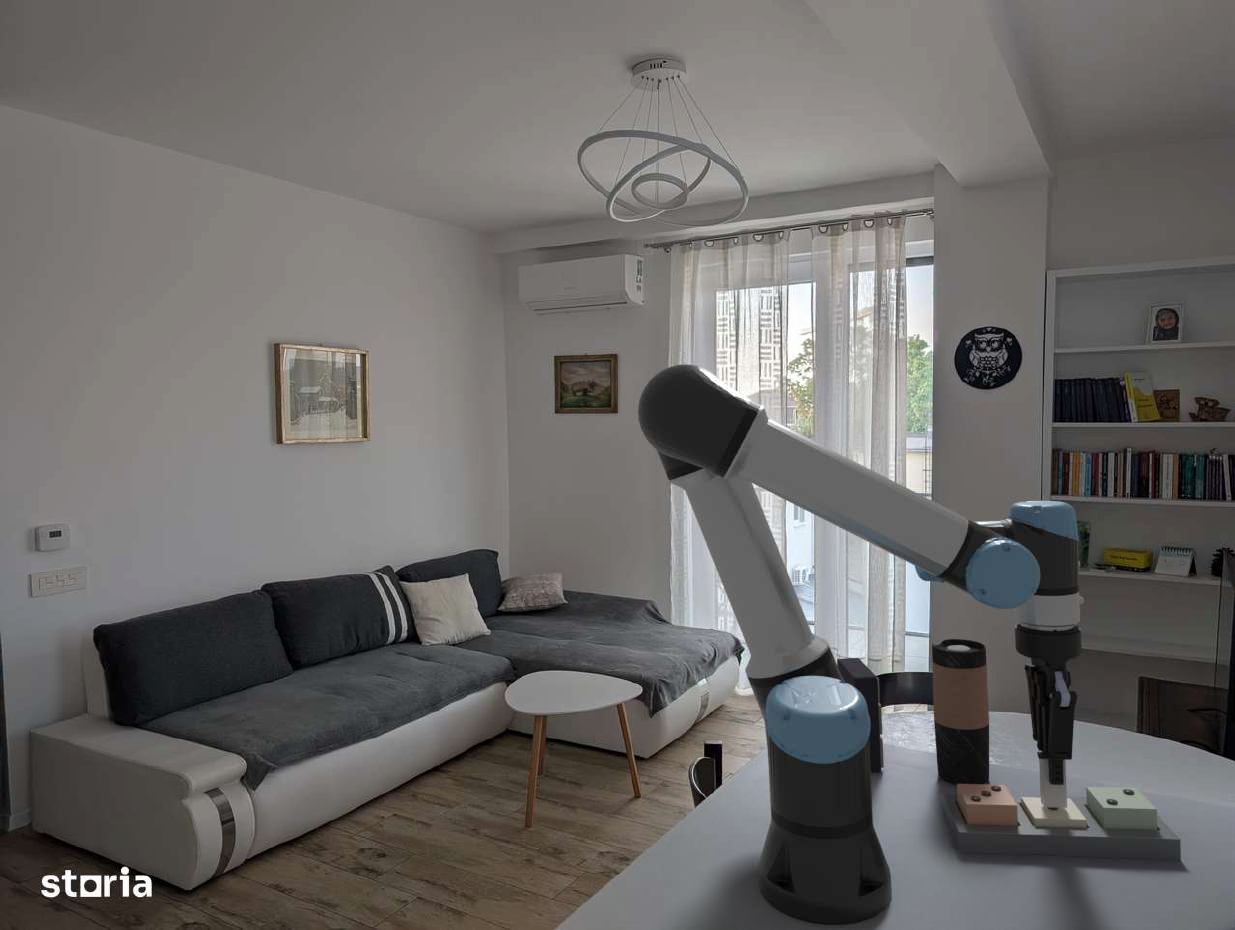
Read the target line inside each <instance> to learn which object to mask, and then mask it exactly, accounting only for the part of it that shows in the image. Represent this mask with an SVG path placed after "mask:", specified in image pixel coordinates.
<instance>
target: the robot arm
mask: <svg viewBox="0 0 1235 930" xmlns="http://www.w3.org/2000/svg"><path fill="white" fill-rule="evenodd" d="M637 408H638V409H637V416H638V418H637V419H638V422H639V427H640V429H641V431H642V433H643V436H644V437H645V439H646V440H647V442H648V443H649V445H651V447H653V448H654V449H655V450H656V452H657V455H658V457H659V460H660V462H661V464H662V467H663V469H664V472H665V474H666V477H667V479H668V481H669V484H672V485H675V486H677V487H678V488H681V489H683V490H684V491H685V494H686V496H687V499H688V501H689V504H690V506H691V509H692V511H693V514H694V516H695V519H696V521H697V524H698V526H699V528H700V532H701V534H702V535H703V540H704V541H705V544H706V547H707V549H708V551H709V553H710V556H711V558H712V561H713V564H714V566H715V569H716V571H717V574H718V577H719V579H720V582H721V584H722V587H723V589H724V591H725V594H726V596H727V599H728V602H729V604H730V607H731V609H732V611H733V614H734V616H735V617H734V618H735V619H736V621H737V624H738V626H739V627H738V628H739V629H740V631H741V633H742V636H743V640H745V643H746V647H747V648H748V651H749V654H750V658H749V660H748V663H747V665H746V667H745V669H744V671H745V674H746V677H747V679H748V682H749V685H750V688H751V689H752V693H753V695H754V697H755V700H756V702H757V705H758V707H759V709H760V713H761V716H762V719H763V721H764V730H765V736H766V737H765V738H766V747H767V748H766V749H767V759H768V761H767V762H768V779H769V780H768V781H769V799H770V800H769V801H770V823H769V827H768V830H767V834H766V836H765V837H766V838H765V840H764V841H765V842H764V845H763V848H762V852H761V855H760V858H759V862H758V882H759V884H760V885H759V888H761V889H760V892H761V891H762V892H761V893H763V894H762V896H763V895H764V896H765V897H764V896H763V897H764V898H765V900H767V901H768V903H770V904H771V905H772V906H773V907H774V908H776V907H777V908H776V909H778V910H780V911H781V912H784V913H785V914H787V915H790V916H792V917H795V918H799V919H801V920H805V921H810V922H815V923H822V924H823V923H824V924H847V923H854V922H859V921H862V920H866V919H868V918H871V917H873V916H876V915H877V914H879V913H881V912H882V911H883V910H884V909H885V908H886V907H887V906H888V904H889V903H890V902H891V899H892V895H893V893H892V892H893V891H892V874H891V870H890V866H889V865H888V861H887V859H886V856H885V853H884V851H883V848H882V844H881V843H880V839H879V837H878V835H877V832H876V829H875V826H874V818H873V817H874V816H873V797H872V796H873V795H872V793H873V792H872V773H871V766H870V743H869V736H870V729H871V724H870V717H869V714H868V709H867V703H866V701H865V698H864V697H863V695H862V694H861V693H860V691H858V690H857V689H856V688H855V687H853V686H852V685H850V684H848V683H845V681H844V679H843V678H842V676H841V674H840V671H839V669H838V666H837V660H836V659H835V656H834V653H833V651H832V649H831V648H830V645H829V642H828V641H827V640H826V639H825V638H823V637H820V636H819V635H816V634H814V633H813V632H812V631H811V627H810V625H809V622H808V619H807V618H806V615H805V613H804V610H803V607H802V605H801V603H800V600H799V598H798V595H797V593H796V590H795V588H794V585H793V583H792V582H793V581H792V580H791V578H790V575H789V572H788V570H787V568H786V565H785V563H784V559H783V558H782V557H783V556H782V554H781V552H780V550H779V547H778V545H777V542H776V539H775V537H774V535H773V533H772V530H771V528H770V525H769V522H768V520H767V518H766V514H765V512H764V510H763V507H762V505H761V502H760V500H759V498H758V494H757V492H756V490H755V488H754V485H756V486H758V487H760V488H761V489H764V490H765V491H767V492H769V493H771V494H774V495H775V496H777V497H779V498H781V499H784V500H785V501H787V502H789V503H791V504H793V505H795V506H797V507H798V508H801V509H802V510H804V511H807V512H809V513H811V514H813V515H814V516H817V517H818V518H820V519H822V520H825V521H827V522H828V523H830V524H832V525H833V526H837V527H838V528H841V530H844V531H845V532H848V533H850V534H852V535H854V536H856V537H858V538H859V539H862V540H863V541H866V542H867V543H870V544H872V545H874V546H875V547H878V548H879V549H881V550H883V551H885V552H886V553H887V552H888V553H889V554H891V555H894V556H896V557H897V558H899V559H901V560H904V561H905V562H907V563H908V564H911V565H913V566H914V568H915V572H916V574H917V576H918V577H919V579H920V580H922V581H924V582H937V583H941V584H943V583H947V584H949V585H951V586H953V587H956V589H959V590H961V591H964V592H965V593H967V594H969V595H971V596H972V597H973V599H975V600H976V601H978V603H980V604H983V605H986V606H989V607H992V608H995V609H1000V610H1001V609H1002V610H1008V609H1013V618H1014V620H1015V621H1017V623H1016V624H1015V625H1014V638H1015V640H1014V642H1015V649H1016V652H1017V653H1018V654H1019V655H1022V656H1023V657H1027V658H1029V659H1030V663H1025V664H1024V671H1025V675H1026V680H1027V689H1028V699H1029V700H1028V701H1029V709H1030V719H1031V729H1032V739H1033V740H1034V742H1035V741H1036V747H1037V749H1038V751H1037V752H1036V753H1037V758H1038V759H1039V760H1038V763H1039V784H1040V785H1039V788H1040V789H1039V790H1040V796H1041V803H1042V804H1043V806H1044V807H1057V808H1067V797H1068V796H1067V795H1068V791H1067V790H1068V788H1067V767H1066V766H1067V765H1066V764H1067V763H1066V761H1068V760H1069V761H1072V759H1073V747H1074V745H1073V742H1074V728H1075V727H1074V726H1075V725H1074V723H1075V709H1076V706H1077V705H1076V704H1077V700H1078V694H1077V692H1076V691H1074V690H1070V686H1071V684H1072V681H1071V680H1072V679H1071V678H1072V677H1071V672H1070V671H1069V670H1068V669H1067V668H1068V667H1067V665H1066V663H1067V662H1068V661H1070V660H1074V659H1077V658H1079V657H1080V656H1081V655H1082V651H1083V650H1082V649H1083V648H1082V629H1081V627H1080V626H1079V625H1077V624H1079V622H1081V608H1080V605H1082V604H1084V602H1085V598H1084V597H1083V596H1080V584H1079V583H1080V582H1079V578H1080V577H1079V576H1080V575H1079V573H1080V572H1079V570H1080V569H1079V541H1080V537H1079V530H1078V520H1077V515H1076V513H1077V512H1076V510H1075V508H1074V507H1073V506H1072V505H1071V504H1069V503H1067V502H1064V501H1055V500H1029V501H1020V502H1014V503H1013V504H1012V505H1011V507H1010V510H1009V512H1010V513H1009V515H1008V518H1003V519H997V520H975V521H974V520H970V519H969V518H967V517H966V516H963V515H961V514H959V513H958V512H955V511H953V510H952V509H949V508H947V507H946V506H943V504H942V505H941V504H940V503H937V502H935V501H933V500H932V499H930V498H927V497H926V496H924V495H922V494H920V493H919V492H915V491H914V490H911V489H910V488H908V487H906V486H904V485H902V484H900V483H898V482H896V481H894V480H892V479H890V478H889V477H886V476H884V475H882V474H880V473H878V472H876V471H875V470H872V469H870V468H868V467H866V466H864V465H862V464H860V463H858V462H857V461H854V460H852V459H850V458H848V457H846V456H844V455H842V454H840V453H839V452H837V451H835V450H833V449H830V448H829V447H826V446H825V445H822V444H820V443H818V442H816V441H814V440H812V439H811V438H809V437H807V436H805V435H802V434H801V433H798V432H797V431H795V430H793V429H791V428H789V427H787V426H785V425H784V424H781V423H779V422H776V421H775V420H773V419H770V418H769V417H768V415H767V412H766V409H765V406H764V405H763V404H761V403H758V402H756V401H755V400H753V399H751V398H749V397H747V396H746V395H744V394H741V393H740V392H739V391H737V389H734V388H733V387H732V386H730V385H728V384H727V383H726V382H725V381H724V380H722V379H721V378H720V377H719V376H717V375H716V374H715V373H713V372H712V371H711V370H709V369H707V368H705V367H702V366H699V365H695V364H689V363H688V364H687V363H686V364H676V365H672V366H669V367H666V368H665V369H663V370H660V371H659V372H657V374H655V375H654V376H653V377H652V378H651V379H650V380H649V381H648V382H647V383H646V385H645V386H644V387H643V390H642V393H641V394H640V397H639V401H638V407H637Z"/></svg>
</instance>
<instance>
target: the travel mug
mask: <svg viewBox="0 0 1235 930" xmlns="http://www.w3.org/2000/svg"><path fill="white" fill-rule="evenodd" d="M931 656H932V659H931V660H932V694H933V697H932V698H933V700H932V701H933V722H934V723H933V724H934V736H935V737H934V738H935V739H934V740H935V753H936V764H937V765H936V767H937V775H938V777H939V779H940V780H942V781H943V782H944V783H947V784H949V785H953V786H956V787H957V784H988V782H989V780H990V712H989V694H988V693H989V692H988V691H989V690H988V669H987V665H988V664H987V648H986V645H985V644H983V643H982V642H979V641H977V640H970V639H963V638H962V639H959V638H951V639H950V638H948V639H943V640H942V641H941V642H940V643H939V644H934V643H931Z"/></svg>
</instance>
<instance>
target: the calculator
mask: <svg viewBox="0 0 1235 930" xmlns="http://www.w3.org/2000/svg"><path fill="white" fill-rule="evenodd" d="M836 664H837V666H838V669H839V671H840V674H841V676H842V678H843V679H844V681H845V683H848V684H850V685H852V686H853V687H855V688H856V689H857V690H858V691H860V693H861V694H862V695H863V697H864V698H865V701H866V703H867V709H868V714H869V717H870V724H871V729H870V736H869V743H870V766H871V772H872V773H881V772H882V768H884V767H885V765H884V764H885V763H884V740H883V737H882V736H881V735H883V714H882V713H883V712H882V705H881V703H880V702H881V701H880V700H881V698H880V697H881V695H880V693H881V692H880V679H879V678H878V677H877V675H876V674H875V673H874V672H873V671H872V670H871V669H870V668H869V667H868V666H867V665H866V664H865V663H864V662H863V661H862V660H861V658H859V657H848V658H837V660H836Z"/></svg>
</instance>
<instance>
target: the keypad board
mask: <svg viewBox="0 0 1235 930" xmlns="http://www.w3.org/2000/svg"><path fill="white" fill-rule="evenodd" d="M1011 796H1012V798H1013V799H1014V801H1015V803H1016V804H1017V815H1018V826H1007V825H975V824H966V822H965V820H964V818H963V816H962V814H961V812H960V809H959V807H958V799H957V793H942V795H941V797H942V812H943V815H944V817H945V820H946V822H947V824H948V826H949V829H950V832H951V835H952V837H953V838H954V842H955V844H956V847H957V848H958V851H959V852H960V853H962V852H963V853H982V854H983V853H987V854H1009V855H1010V854H1011V855H1034V854H1039V855H1038V856H1065V857H1066V856H1067V857H1069V856H1070V857H1089V858H1090V857H1091V858H1092V857H1095V858H1117V859H1120V858H1121V859H1122V858H1123V859H1142V860H1143V859H1144V860H1145V859H1150V860H1171V861H1173V860H1174V861H1175V860H1176V861H1181V860H1182V852H1181V846H1182V844H1181V839H1180V837H1178V836H1177V835H1176V833H1175V832H1174V830H1172V829H1171V828H1170V827H1169V825H1167V824H1166V823H1165V822H1164V821H1163V819H1162V818H1161V817H1160V816H1159V815H1158V814H1157V830H1134V829H1103V828H1102V827H1101V826H1100V825H1099V824H1098V822H1097V821H1096V820H1095V818H1094V817H1093V816H1092V815H1091V813H1090V812H1089V811H1088V809H1087V796H1067V798H1070V799H1071V800H1072V802H1073V803H1074V804H1075V805H1076V807H1077V808H1078V809H1079V811H1080V812H1081V813H1082V815H1083V816H1084V817H1085V819H1086V822H1087V828H1071V827H1039V826H1032V824H1031V822H1030V821H1029V819H1028V817H1027V816H1026V814H1025V813H1024V811H1023V809H1022V808H1021V797H1038V798H1041V795H1021V794H1020V795H1016V794H1014V795H1013V794H1011ZM1178 859H1179V860H1178Z"/></svg>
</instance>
